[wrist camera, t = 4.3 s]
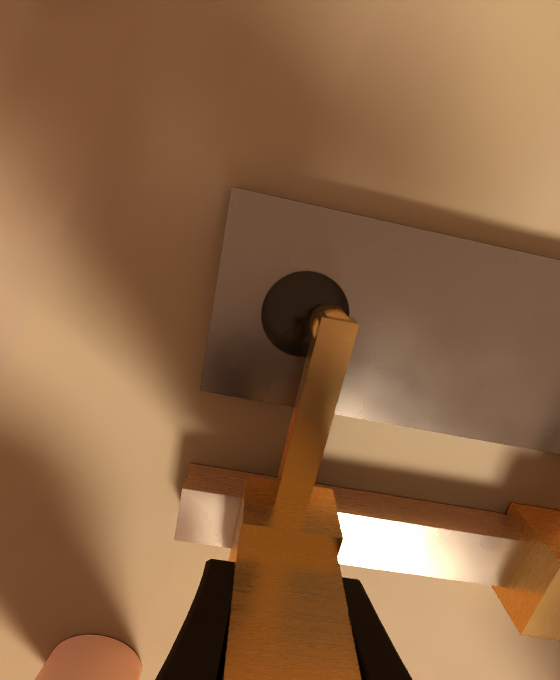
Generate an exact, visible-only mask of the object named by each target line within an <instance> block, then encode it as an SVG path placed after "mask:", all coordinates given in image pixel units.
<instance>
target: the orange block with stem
mask: <svg viewBox="0 0 560 680" xmlns="http://www.w3.org/2000/svg"><path fill="white" fill-rule="evenodd" d="M309 325H310V328H311V331H312V337H311V341H310V346H309V350H308V354H307V358H306V362H305V366H304V370H303V374H302V378H301V382H300V386H299V390H298V394H297V399H296V403H295V407H294V411H293V415H292V419H291V423H290V427H289V431H288V435H287V439H286V443H285V448H284V452H283V456H282V460H281V464H280V468H279V472H278V476H277V480H272V479H266V478H259V477H253V476H247V478H246V482H245V487H244V492H243V496H242V501H241V506H240V510H239V515H238V519H237V524H236V529H235V533H234V538H233V543H232V547H231V552H230V557H229V561H230V562H235V569H234V582H233V595H232V600H231V605H230V611H229V616H228V621H227V626H226V631H225V636H224V641H223V646H222V652H221V657H220V662H219V667H218V672H217V677H216V680H362V679H361V674H360V669H359V664H358V659H357V654H356V648H355V643H354V638H353V633H352V628H351V623H350V619H349V615H348V607H347V602H346V597H345V592H344V586H343V581H342V576H341V571H340V566H339V561H338V554H339V551H340V548H341V545H342V542H343V539H344V538H343V533H342V529H341V524H340V520H339V515H338V511H337V507H336V502H335V498H334V493H333V489H328V488H322V487H316V486H314V483H315V480H316V476H317V473H318V469H319V466H320V462H321V459H322V455H323V452H324V448H325V445H326V441H327V438H328V434H329V430H330V427H331V423H332V420H333V416H334V413H335V409H336V406H337V402H338V399H339V395H340V392H341V388H342V385H343V381H344V378H345V374H346V371H347V367H348V364H349V360H350V356H351V353H352V349H353V346H354V342H355V339H356V335H357V332H358V328H359V323H358V322H357V321H356V320H355V319H354V317H350V316H347V315H346V313H345V312H344V311H343V310H342V308H341V307H339V306H338V305H336V304H333V303H324V304H321V305H319V306H317V307H316V308H315V309H314V310H313V311H312V313H311V315H310V318H309Z"/></svg>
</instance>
